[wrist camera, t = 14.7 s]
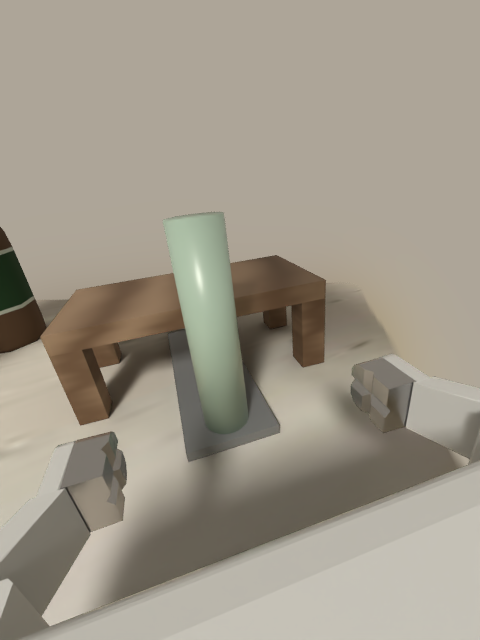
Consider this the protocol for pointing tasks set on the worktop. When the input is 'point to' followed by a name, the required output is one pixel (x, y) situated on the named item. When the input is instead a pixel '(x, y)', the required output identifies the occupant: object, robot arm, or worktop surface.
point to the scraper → (210, 343)
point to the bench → (172, 322)
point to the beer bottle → (16, 303)
